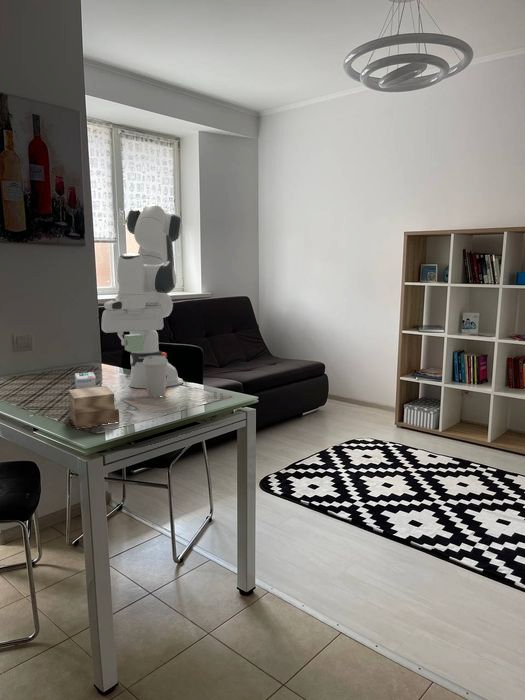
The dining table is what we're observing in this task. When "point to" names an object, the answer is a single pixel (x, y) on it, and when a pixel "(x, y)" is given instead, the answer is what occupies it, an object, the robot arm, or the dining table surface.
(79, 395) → the oak top block
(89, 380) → the light bulb box
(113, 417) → the walnut base block
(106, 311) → the robot arm
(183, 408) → the dining table surface
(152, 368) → the coffee cup
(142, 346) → the sage block
